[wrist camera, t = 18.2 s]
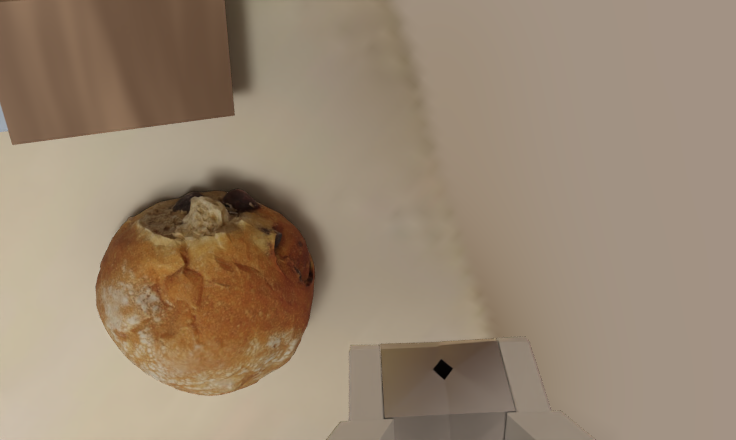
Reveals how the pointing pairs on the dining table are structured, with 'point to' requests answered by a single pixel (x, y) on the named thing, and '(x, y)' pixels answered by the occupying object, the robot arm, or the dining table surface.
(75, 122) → the domino
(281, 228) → the bread roll
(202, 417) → the dining table surface
